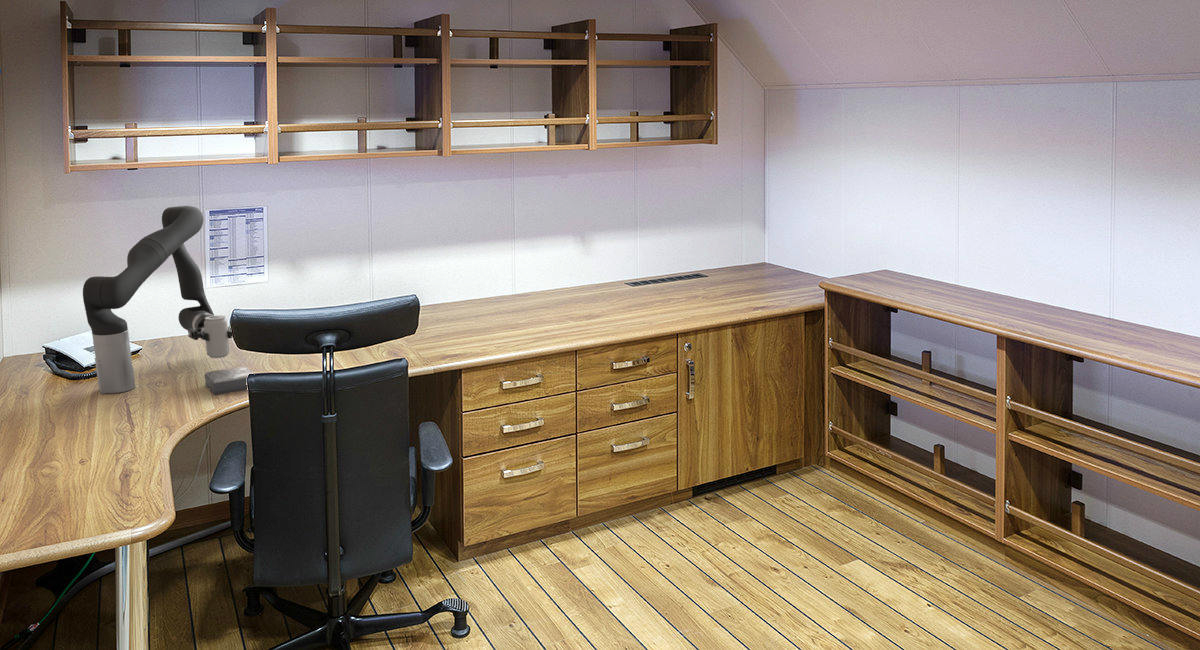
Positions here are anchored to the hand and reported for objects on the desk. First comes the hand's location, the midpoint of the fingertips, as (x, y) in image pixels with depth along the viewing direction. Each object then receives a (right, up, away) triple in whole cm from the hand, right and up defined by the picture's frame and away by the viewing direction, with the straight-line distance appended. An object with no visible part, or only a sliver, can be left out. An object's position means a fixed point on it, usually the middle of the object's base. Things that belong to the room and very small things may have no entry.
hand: (218, 336), depth 282 cm
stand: (+5, -15, -5) cm, 16 cm away
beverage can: (-1, -6, +3) cm, 7 cm away
